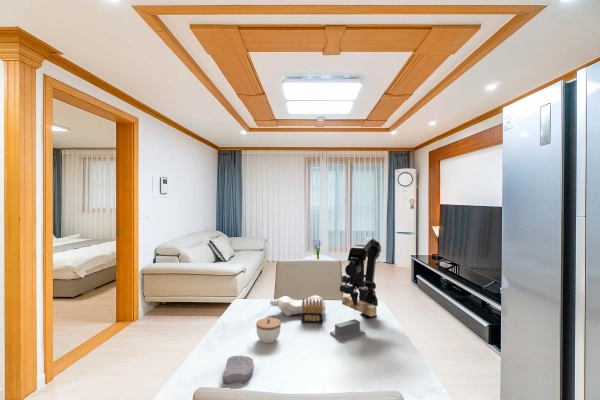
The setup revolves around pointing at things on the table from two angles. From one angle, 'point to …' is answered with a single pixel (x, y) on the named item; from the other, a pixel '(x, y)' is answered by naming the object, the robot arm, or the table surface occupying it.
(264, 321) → the lidded jar
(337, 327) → the grey stepped block
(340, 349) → the table surface
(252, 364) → the stone block
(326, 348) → the table surface
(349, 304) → the beam
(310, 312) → the ammunition clip
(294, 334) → the table surface
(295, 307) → the torso sculpture
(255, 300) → the table surface
